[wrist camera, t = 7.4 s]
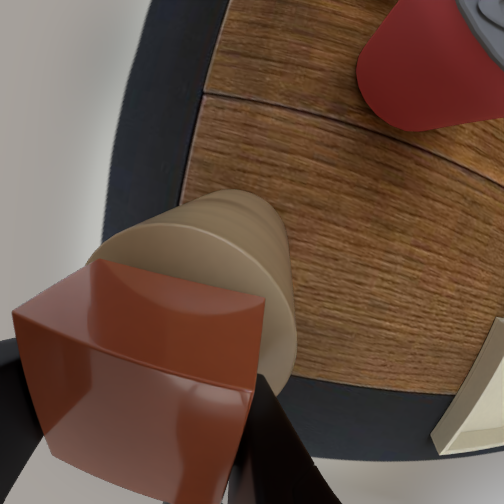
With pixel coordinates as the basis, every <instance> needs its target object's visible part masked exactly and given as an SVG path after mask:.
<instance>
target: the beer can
mask: <svg viewBox="0 0 504 504" xmlns="http://www.w3.org/2000/svg"><path fill="white" fill-rule="evenodd" d="M356 74H357V81H358V87H359V89H360V91H361V93H362V95H363V97H364V99H365V102H366V103H367V104H368V105H369V107H370V108H371V109H372V110H373V111H374V113H375V114H376V115H377V116H378V117H380V118H381V119H383V120H384V121H385V122H387V123H388V124H389V125H391V126H394V127H396V128H399V129H402V130H404V131H417V132H421V131H426V130H431V129H437V128H442V127H447V126H453V125H458V124H464V123H470V122H476V121H483V120H489V119H496V118H503V117H504V0H399V1H398V2H397V3H396V5H395V6H394V7H393V9H392V10H391V11H390V13H389V14H388V15H387V17H386V18H385V19H384V21H383V22H382V23H381V25H380V26H379V27H378V29H377V30H376V32H375V33H374V34H373V36H372V37H371V38H370V40H369V41H368V42H367V44H366V45H365V47H364V48H363V50H362V51H361V53H360V55H359V56H358V62H357V67H356Z"/></svg>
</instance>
